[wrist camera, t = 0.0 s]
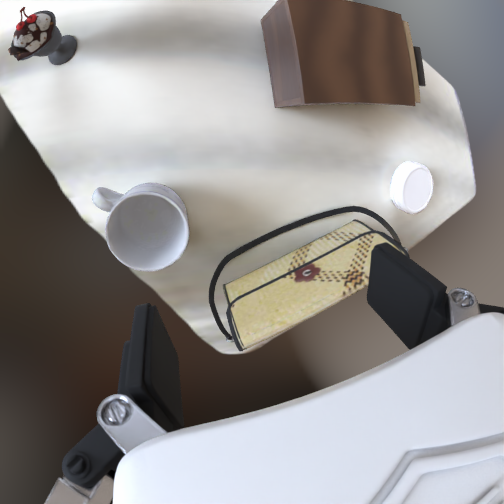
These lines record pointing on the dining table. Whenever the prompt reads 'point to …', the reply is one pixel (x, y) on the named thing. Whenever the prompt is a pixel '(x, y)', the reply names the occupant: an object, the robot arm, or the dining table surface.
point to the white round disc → (411, 187)
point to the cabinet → (336, 54)
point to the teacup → (145, 225)
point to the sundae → (41, 39)
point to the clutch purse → (299, 279)
